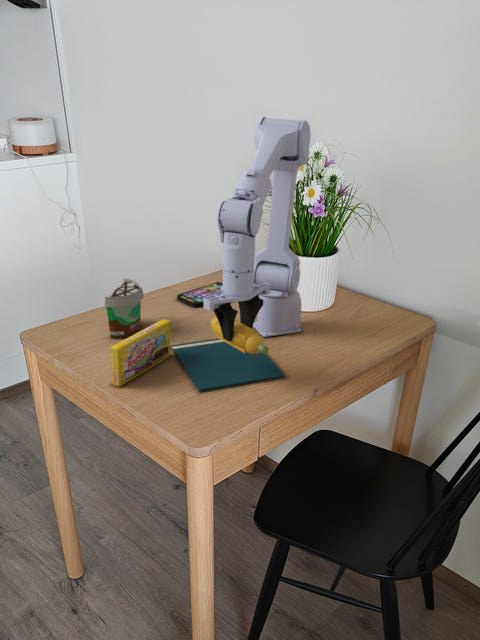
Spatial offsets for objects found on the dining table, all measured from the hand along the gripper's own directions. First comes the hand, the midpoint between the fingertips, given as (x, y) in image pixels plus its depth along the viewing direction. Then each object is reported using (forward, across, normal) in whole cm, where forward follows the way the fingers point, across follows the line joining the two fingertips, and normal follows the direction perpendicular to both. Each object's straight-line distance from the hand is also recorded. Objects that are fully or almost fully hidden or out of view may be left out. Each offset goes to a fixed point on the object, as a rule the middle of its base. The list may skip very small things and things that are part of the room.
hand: (236, 336), depth 122 cm
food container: (+9, +6, -30) cm, 32 cm away
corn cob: (+2, 0, 0) cm, 2 cm away
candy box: (+9, +14, -13) cm, 21 cm away
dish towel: (+9, -2, -6) cm, 10 cm away
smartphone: (+9, -20, -36) cm, 43 cm away
